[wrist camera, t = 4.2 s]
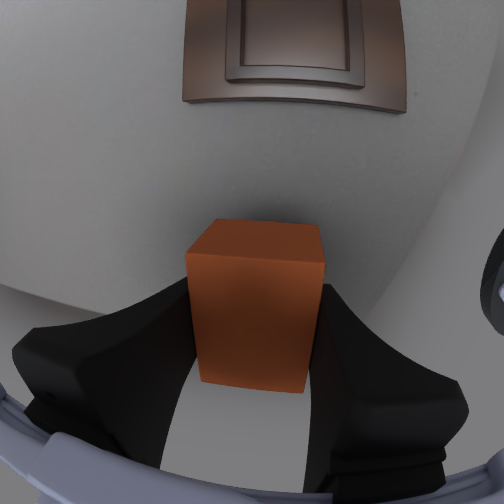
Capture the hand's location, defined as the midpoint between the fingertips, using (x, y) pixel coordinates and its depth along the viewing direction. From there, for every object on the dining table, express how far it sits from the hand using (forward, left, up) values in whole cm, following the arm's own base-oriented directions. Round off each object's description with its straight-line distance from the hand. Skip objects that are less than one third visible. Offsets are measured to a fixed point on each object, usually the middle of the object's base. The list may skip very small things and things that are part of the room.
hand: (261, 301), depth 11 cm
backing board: (+16, -26, -7) cm, 31 cm away
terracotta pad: (0, 0, -1) cm, 1 cm away
